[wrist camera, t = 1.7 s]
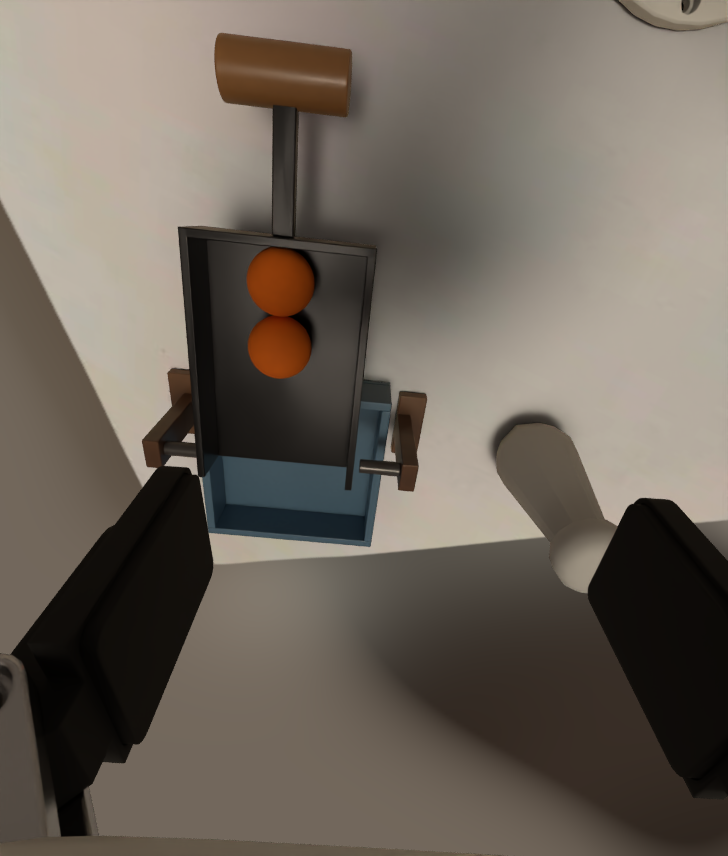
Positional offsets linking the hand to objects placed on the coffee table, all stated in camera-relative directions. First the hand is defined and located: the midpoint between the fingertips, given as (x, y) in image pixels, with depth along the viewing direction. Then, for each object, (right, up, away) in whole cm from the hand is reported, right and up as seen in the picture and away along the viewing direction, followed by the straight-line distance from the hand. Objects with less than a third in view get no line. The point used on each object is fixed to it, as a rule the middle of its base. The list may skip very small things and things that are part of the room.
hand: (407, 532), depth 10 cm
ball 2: (-5, +6, +12) cm, 15 cm away
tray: (-6, +1, +25) cm, 26 cm away
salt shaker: (+12, +1, +24) cm, 27 cm away
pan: (-5, +9, +13) cm, 17 cm away
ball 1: (-5, +9, +11) cm, 15 cm away
